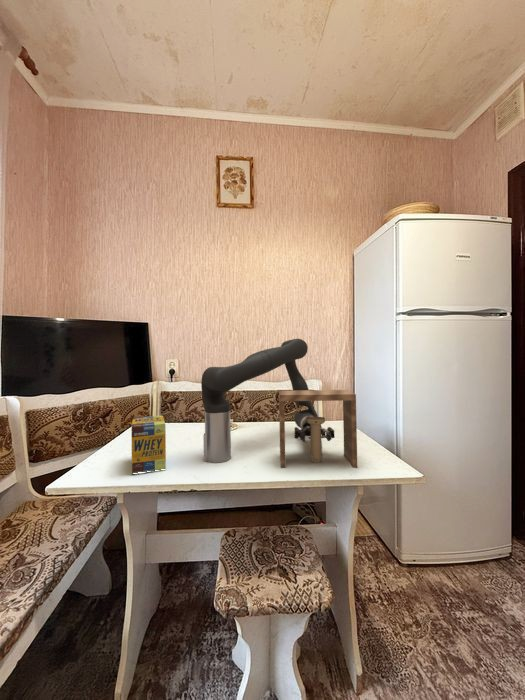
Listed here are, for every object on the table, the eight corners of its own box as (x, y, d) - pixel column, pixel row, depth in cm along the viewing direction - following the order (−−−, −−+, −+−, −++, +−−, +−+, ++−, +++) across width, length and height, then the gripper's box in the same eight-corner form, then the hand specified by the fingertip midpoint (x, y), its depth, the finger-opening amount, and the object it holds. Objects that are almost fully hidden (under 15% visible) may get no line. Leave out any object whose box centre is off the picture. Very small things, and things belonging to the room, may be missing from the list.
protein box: (131, 476, 93) (131, 426, 94) (133, 460, 108) (132, 417, 108) (166, 470, 97) (165, 423, 97) (163, 456, 112) (162, 414, 112)
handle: (326, 464, 101) (325, 419, 101) (307, 463, 101) (306, 419, 101) (324, 459, 105) (324, 416, 106) (306, 458, 106) (305, 416, 106)
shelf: (280, 467, 98) (279, 395, 98) (280, 455, 110) (278, 390, 110) (357, 467, 97) (355, 394, 97) (348, 455, 109) (346, 389, 109)
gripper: (292, 417, 118) (295, 427, 102) (328, 417, 118) (337, 427, 101) (292, 436, 118) (295, 449, 102) (328, 436, 117) (337, 449, 101)
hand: (316, 438), depth 102 cm, fingers open, 8 cm apart
